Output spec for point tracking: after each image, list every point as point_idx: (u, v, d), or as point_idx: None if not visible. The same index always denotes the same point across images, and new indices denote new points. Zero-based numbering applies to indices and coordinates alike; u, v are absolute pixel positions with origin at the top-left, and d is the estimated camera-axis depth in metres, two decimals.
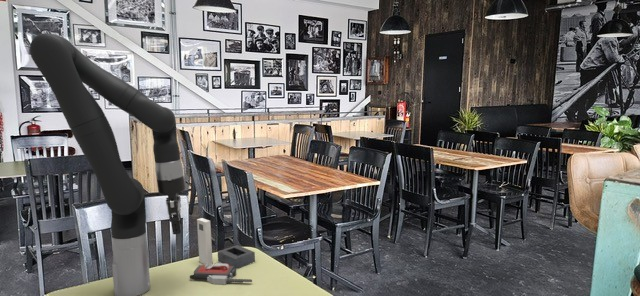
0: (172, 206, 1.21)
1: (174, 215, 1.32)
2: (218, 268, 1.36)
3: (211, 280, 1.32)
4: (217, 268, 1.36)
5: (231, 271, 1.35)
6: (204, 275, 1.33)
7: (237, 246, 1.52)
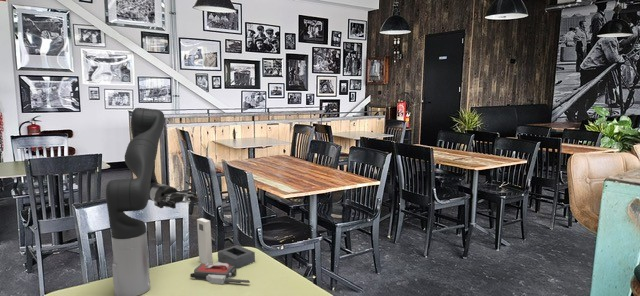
0: None
1: None
2: (218, 267, 1.36)
3: (210, 279, 1.32)
4: (217, 267, 1.37)
5: (231, 271, 1.35)
6: (204, 274, 1.34)
7: (237, 246, 1.52)
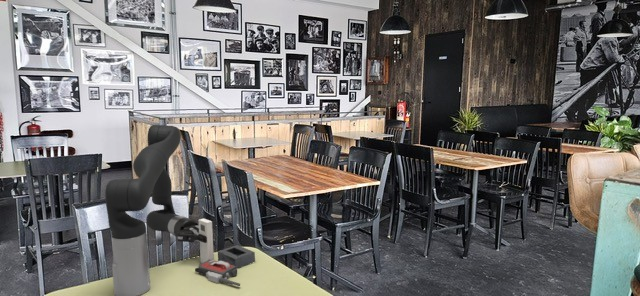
0: None
1: None
2: (220, 266, 1.37)
3: (208, 276, 1.34)
4: (220, 265, 1.38)
5: (230, 271, 1.35)
6: (205, 270, 1.37)
7: (237, 246, 1.52)
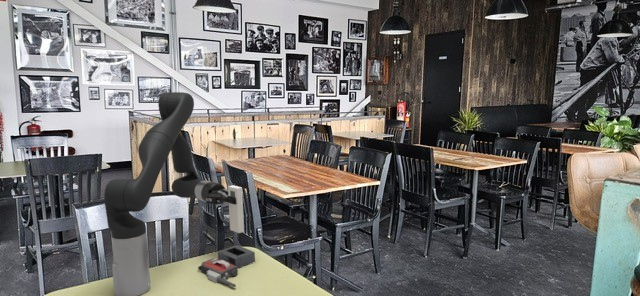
0: None
1: None
2: None
3: (208, 275, 1.35)
4: None
5: (229, 271, 1.35)
6: (206, 269, 1.38)
7: (237, 246, 1.52)
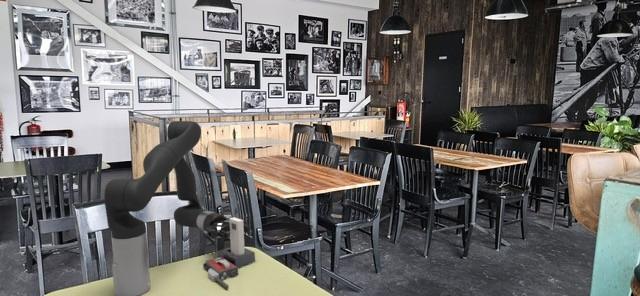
0: None
1: None
2: None
3: None
4: None
5: (228, 271, 1.35)
6: (209, 267, 1.39)
7: None
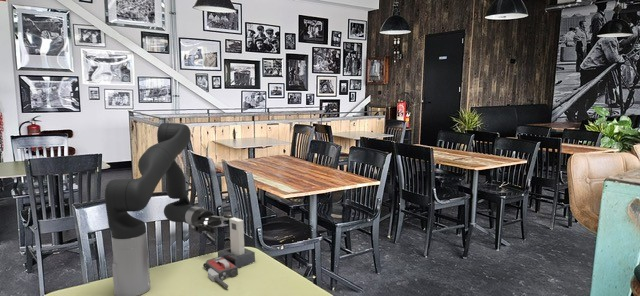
0: None
1: None
2: None
3: None
4: None
5: (228, 271, 1.35)
6: (209, 266, 1.40)
7: None
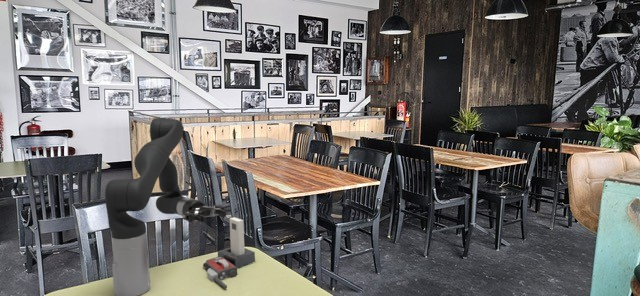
0: None
1: None
2: None
3: None
4: None
5: (227, 271, 1.35)
6: (209, 266, 1.40)
7: None
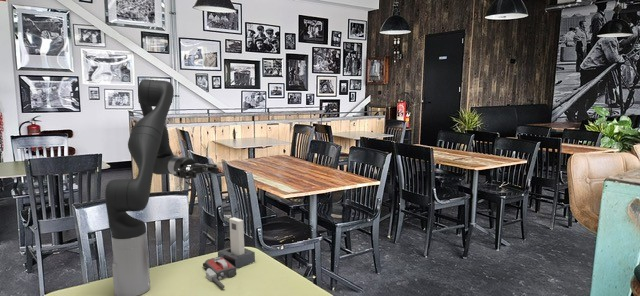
0: None
1: None
2: None
3: None
4: None
5: (226, 271, 1.35)
6: (208, 266, 1.40)
7: None
